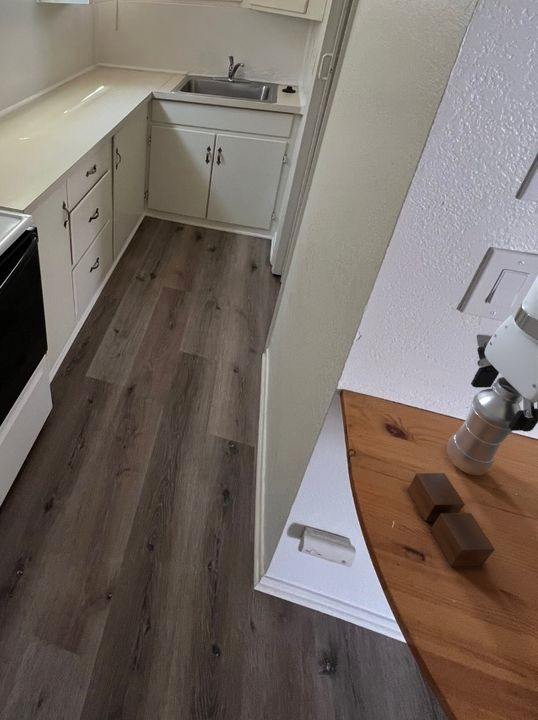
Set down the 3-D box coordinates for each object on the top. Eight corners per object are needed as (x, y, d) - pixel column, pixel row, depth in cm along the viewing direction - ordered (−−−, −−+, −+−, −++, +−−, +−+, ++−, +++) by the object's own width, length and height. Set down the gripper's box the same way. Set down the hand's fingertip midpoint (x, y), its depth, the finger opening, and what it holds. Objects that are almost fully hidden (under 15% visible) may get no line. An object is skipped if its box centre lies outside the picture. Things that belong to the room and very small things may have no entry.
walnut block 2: (459, 529, 68) (470, 512, 66) (481, 566, 63) (495, 549, 61) (429, 530, 68) (440, 513, 65) (450, 566, 63) (462, 550, 61)
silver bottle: (494, 472, 76) (547, 395, 67) (469, 486, 74) (520, 409, 64) (458, 439, 81) (503, 365, 72) (434, 452, 79) (476, 376, 70)
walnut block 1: (434, 489, 73) (444, 472, 71) (453, 520, 69) (465, 504, 67) (407, 490, 73) (416, 473, 71) (424, 521, 69) (435, 504, 66)
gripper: (637, 373, 55) (569, 458, 63) (523, 287, 70) (480, 364, 78) (581, 373, 55) (520, 458, 63) (479, 287, 70) (441, 364, 78)
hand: (498, 405), depth 70 cm, fingers open, 7 cm apart
